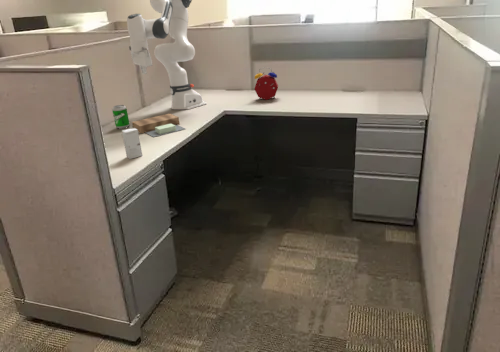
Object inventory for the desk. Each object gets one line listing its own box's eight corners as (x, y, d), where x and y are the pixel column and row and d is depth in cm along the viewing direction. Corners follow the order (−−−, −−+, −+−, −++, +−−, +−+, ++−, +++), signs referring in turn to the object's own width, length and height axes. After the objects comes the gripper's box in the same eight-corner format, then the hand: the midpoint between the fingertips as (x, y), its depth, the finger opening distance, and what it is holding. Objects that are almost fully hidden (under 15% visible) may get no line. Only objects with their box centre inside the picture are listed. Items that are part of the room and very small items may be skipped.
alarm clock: (278, 97, 269) (277, 65, 261) (278, 100, 261) (276, 67, 253) (256, 98, 271) (253, 67, 263) (254, 101, 263) (252, 69, 255)
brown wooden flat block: (170, 120, 237) (169, 113, 235) (179, 124, 228) (178, 117, 226) (133, 129, 226) (131, 121, 225) (141, 133, 217) (139, 126, 215)
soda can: (121, 125, 236) (117, 104, 231) (132, 125, 233) (128, 104, 228) (113, 129, 229) (108, 107, 224) (124, 129, 226) (120, 108, 222)
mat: (176, 125, 226) (176, 124, 226) (185, 129, 218) (185, 128, 218) (145, 132, 217) (145, 132, 217) (153, 137, 209) (153, 136, 209)
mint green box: (175, 125, 216) (176, 130, 217) (170, 123, 220) (171, 127, 221) (159, 129, 211) (160, 134, 212) (154, 127, 216) (155, 131, 217)
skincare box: (129, 159, 181) (124, 132, 177) (126, 156, 185) (120, 130, 180) (143, 155, 184) (138, 129, 180) (139, 153, 188) (134, 127, 183)
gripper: (152, 47, 213) (157, 74, 218) (138, 45, 229) (143, 71, 234) (141, 48, 210) (145, 76, 215) (127, 47, 226) (132, 73, 231)
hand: (144, 73), depth 225 cm, fingers closed
